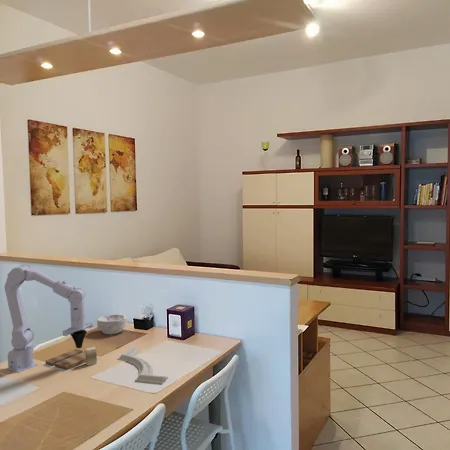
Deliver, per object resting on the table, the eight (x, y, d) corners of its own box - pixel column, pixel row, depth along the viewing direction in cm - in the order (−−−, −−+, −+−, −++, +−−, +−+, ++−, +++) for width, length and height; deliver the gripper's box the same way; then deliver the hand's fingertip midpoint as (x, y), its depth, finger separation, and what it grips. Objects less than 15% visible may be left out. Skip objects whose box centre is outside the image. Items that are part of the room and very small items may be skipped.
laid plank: (53, 366, 184) (52, 362, 184) (45, 364, 187) (45, 360, 187) (82, 354, 198) (82, 350, 198) (75, 352, 200) (75, 349, 200)
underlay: (65, 372, 178) (65, 371, 178) (41, 365, 186) (41, 365, 186) (100, 357, 194) (100, 356, 194) (77, 351, 202) (77, 351, 202)
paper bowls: (118, 325, 242) (118, 312, 241) (131, 331, 230) (131, 317, 230) (93, 331, 232) (92, 317, 231) (105, 338, 220) (104, 323, 220)
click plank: (67, 369, 179) (66, 366, 179) (54, 366, 183) (54, 363, 183) (96, 357, 193) (96, 354, 193) (84, 354, 197) (84, 351, 197)
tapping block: (95, 362, 189) (96, 364, 186) (85, 364, 186) (87, 366, 184) (94, 346, 188) (96, 348, 185) (85, 348, 186) (86, 350, 183)
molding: (171, 383, 166) (171, 376, 166) (141, 391, 160) (141, 383, 160) (137, 350, 203) (137, 344, 203) (112, 355, 197) (112, 349, 197)
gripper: (69, 322, 177) (71, 354, 178) (97, 314, 190) (98, 343, 191) (58, 320, 181) (60, 351, 182) (86, 312, 193) (87, 341, 194)
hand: (79, 347), depth 187 cm, fingers closed
